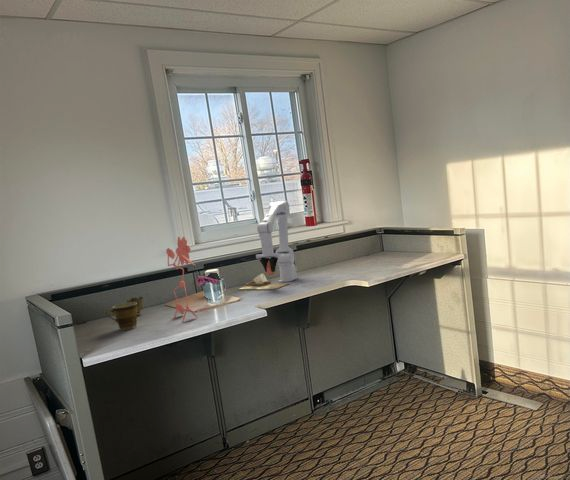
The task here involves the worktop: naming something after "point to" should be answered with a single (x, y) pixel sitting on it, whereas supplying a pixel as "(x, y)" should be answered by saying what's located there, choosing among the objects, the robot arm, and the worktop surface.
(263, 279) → the die
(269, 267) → the pawn
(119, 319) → the ceramic cup
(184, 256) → the figurine
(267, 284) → the board
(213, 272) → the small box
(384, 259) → the worktop surface
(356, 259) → the worktop surface
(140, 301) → the cup
